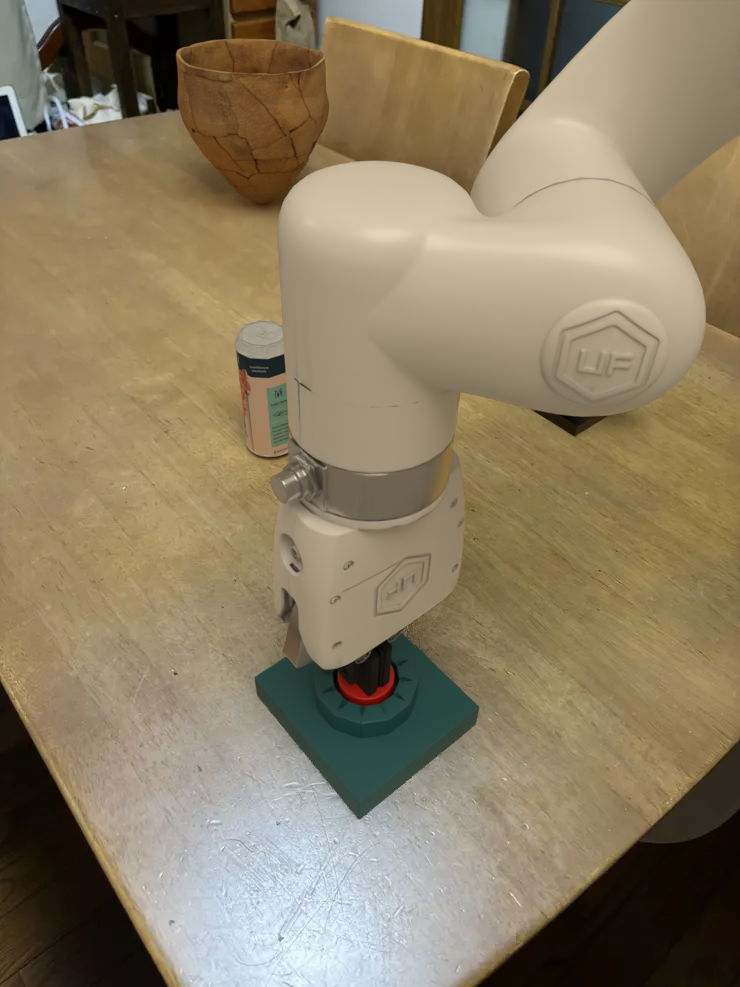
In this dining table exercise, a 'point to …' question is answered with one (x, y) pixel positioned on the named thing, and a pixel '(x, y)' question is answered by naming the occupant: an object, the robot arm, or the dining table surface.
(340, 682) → the button
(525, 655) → the dining table surface
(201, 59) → the bowl
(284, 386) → the beer can
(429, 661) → the button block
